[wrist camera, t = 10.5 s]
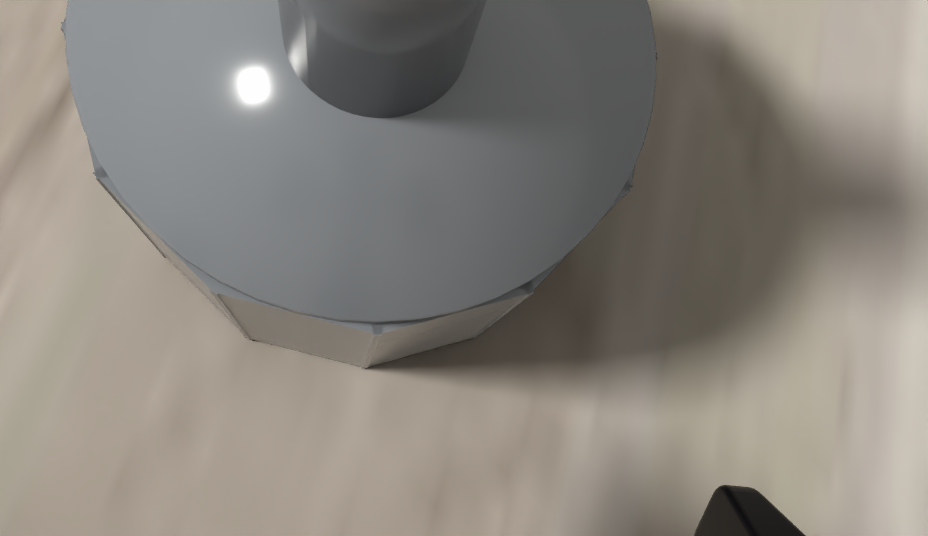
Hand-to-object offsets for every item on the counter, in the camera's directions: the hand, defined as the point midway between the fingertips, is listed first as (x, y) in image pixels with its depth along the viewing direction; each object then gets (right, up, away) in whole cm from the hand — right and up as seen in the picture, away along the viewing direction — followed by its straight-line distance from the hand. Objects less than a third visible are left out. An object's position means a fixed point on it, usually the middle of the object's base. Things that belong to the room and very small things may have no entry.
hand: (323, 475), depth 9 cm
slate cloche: (-1, +5, +11) cm, 12 cm away
